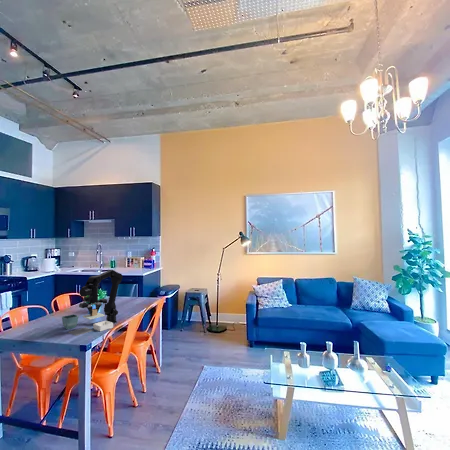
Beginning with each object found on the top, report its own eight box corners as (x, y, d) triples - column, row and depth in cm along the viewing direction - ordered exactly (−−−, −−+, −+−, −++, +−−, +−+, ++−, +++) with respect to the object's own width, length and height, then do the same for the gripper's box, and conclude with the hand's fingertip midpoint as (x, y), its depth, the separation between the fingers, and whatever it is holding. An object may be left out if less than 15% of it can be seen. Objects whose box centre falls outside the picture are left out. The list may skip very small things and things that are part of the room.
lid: (97, 313, 211) (97, 306, 211) (104, 315, 204) (104, 308, 204) (82, 317, 202) (82, 309, 202) (89, 319, 195) (89, 312, 195)
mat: (85, 327, 208) (85, 327, 208) (94, 331, 200) (94, 330, 200) (67, 332, 197) (67, 332, 197) (76, 336, 190) (76, 335, 190)
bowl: (105, 325, 212) (106, 320, 212) (113, 328, 206) (113, 322, 206) (93, 329, 204) (93, 323, 204) (100, 332, 198) (100, 326, 198)
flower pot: (73, 325, 213) (73, 314, 213) (78, 327, 208) (78, 316, 208) (61, 328, 206) (61, 316, 207) (66, 331, 201) (66, 318, 201)
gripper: (100, 290, 216) (100, 310, 215) (75, 294, 201) (75, 316, 201) (107, 291, 209) (107, 312, 208) (82, 296, 194) (82, 318, 194)
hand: (93, 314), depth 203 cm, fingers closed on lid, 3 cm apart
